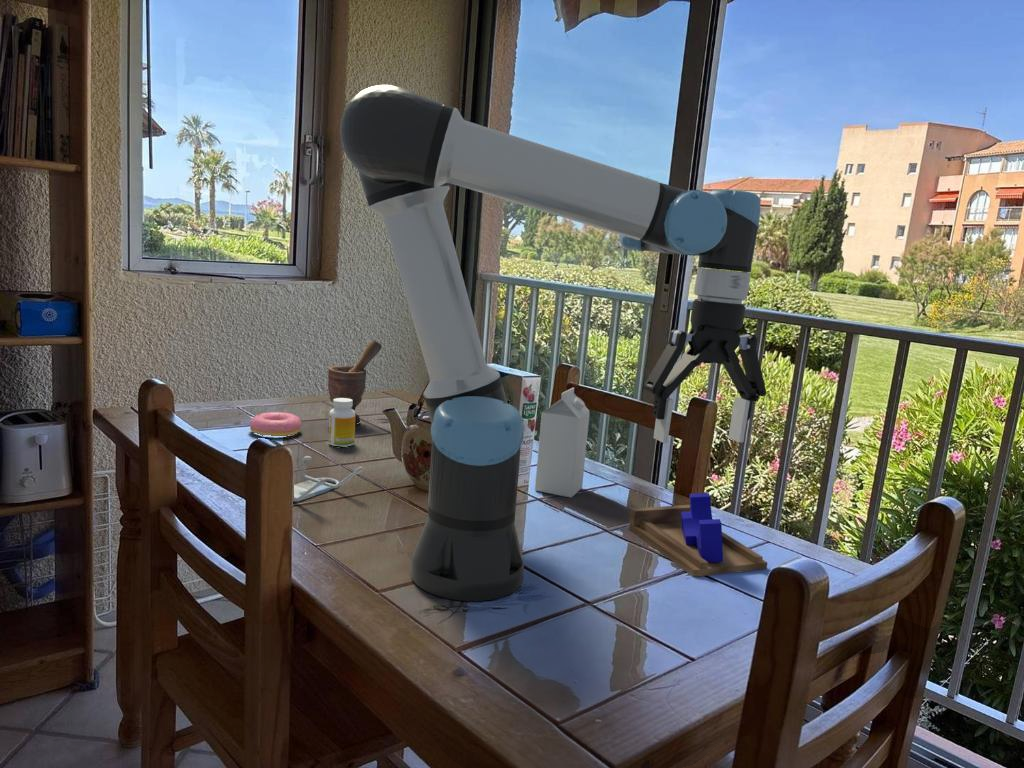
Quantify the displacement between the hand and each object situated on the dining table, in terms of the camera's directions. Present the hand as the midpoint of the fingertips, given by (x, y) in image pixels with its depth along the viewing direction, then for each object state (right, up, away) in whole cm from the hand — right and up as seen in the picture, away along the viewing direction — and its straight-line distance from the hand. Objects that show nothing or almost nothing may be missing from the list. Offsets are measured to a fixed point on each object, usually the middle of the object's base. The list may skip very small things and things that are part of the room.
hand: (698, 440), depth 112 cm
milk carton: (-20, -11, +26) cm, 35 cm away
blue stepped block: (+1, -16, +1) cm, 16 cm away
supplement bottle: (-64, -4, +44) cm, 78 cm away
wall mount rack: (-62, -11, +13) cm, 64 cm away
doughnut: (-80, -2, +49) cm, 94 cm away
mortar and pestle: (-66, -1, +63) cm, 91 cm away
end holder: (0, -17, +4) cm, 17 cm away
